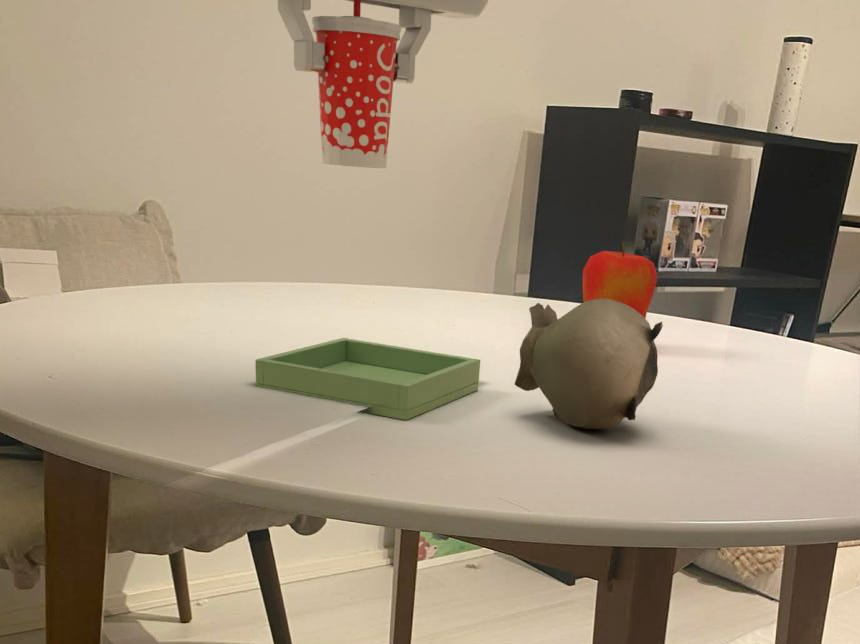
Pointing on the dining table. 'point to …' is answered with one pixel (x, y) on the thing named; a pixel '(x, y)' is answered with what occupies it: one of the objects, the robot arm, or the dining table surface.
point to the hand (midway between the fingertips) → (355, 77)
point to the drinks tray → (371, 376)
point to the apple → (620, 279)
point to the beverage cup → (356, 88)
